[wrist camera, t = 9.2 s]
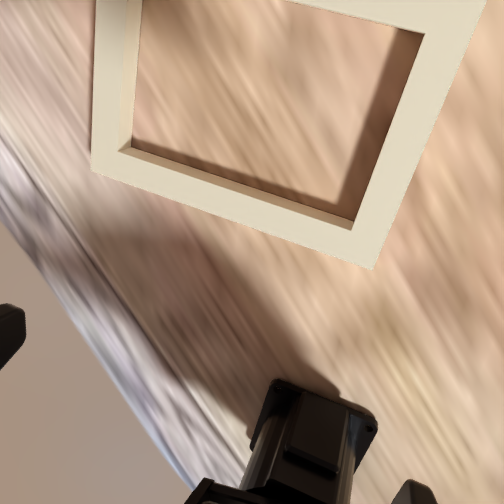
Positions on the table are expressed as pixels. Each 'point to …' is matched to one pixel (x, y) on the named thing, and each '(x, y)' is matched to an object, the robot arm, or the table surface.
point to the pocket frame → (262, 203)
